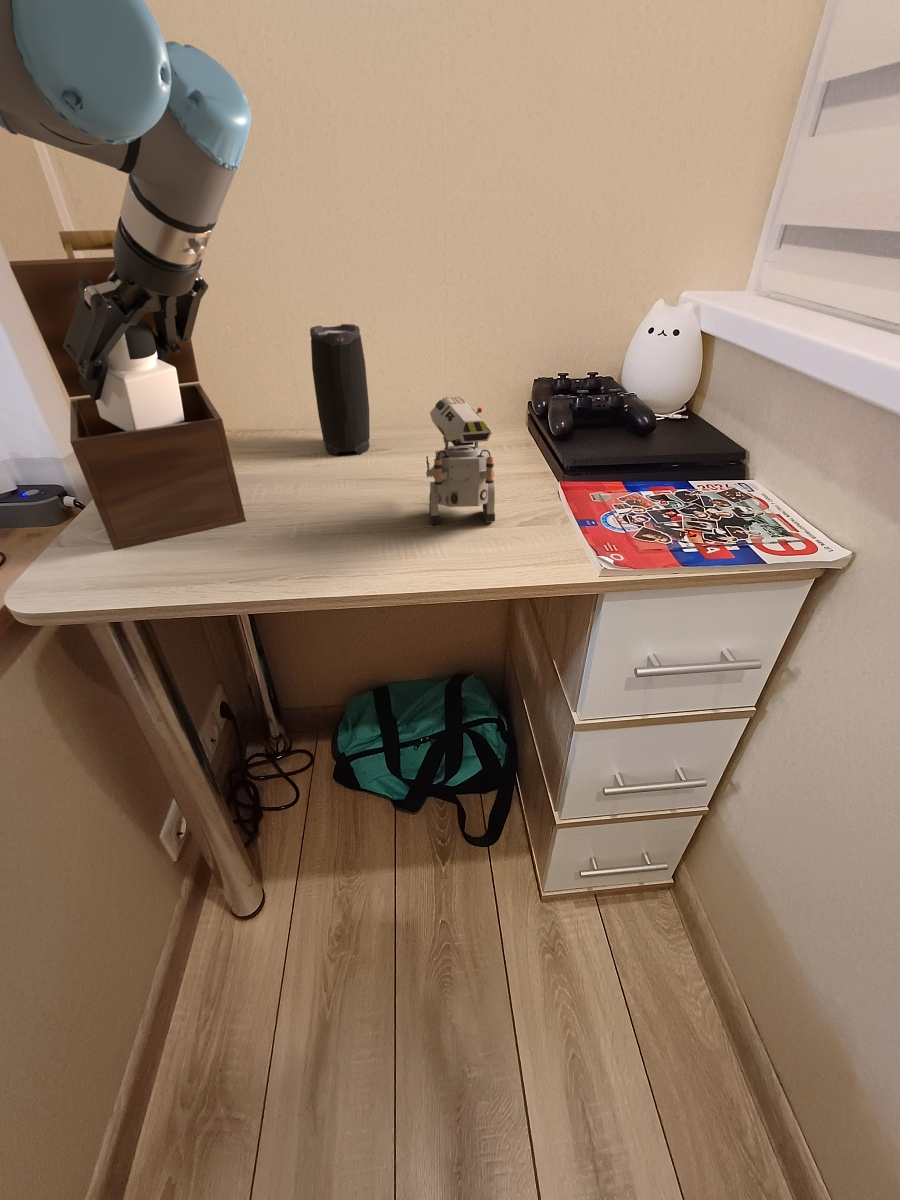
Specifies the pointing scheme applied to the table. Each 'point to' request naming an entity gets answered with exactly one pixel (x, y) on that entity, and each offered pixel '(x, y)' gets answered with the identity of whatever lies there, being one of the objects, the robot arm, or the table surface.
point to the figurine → (461, 460)
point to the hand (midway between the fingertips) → (119, 382)
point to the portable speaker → (341, 387)
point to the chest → (157, 472)
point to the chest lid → (58, 294)
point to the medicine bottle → (139, 384)
